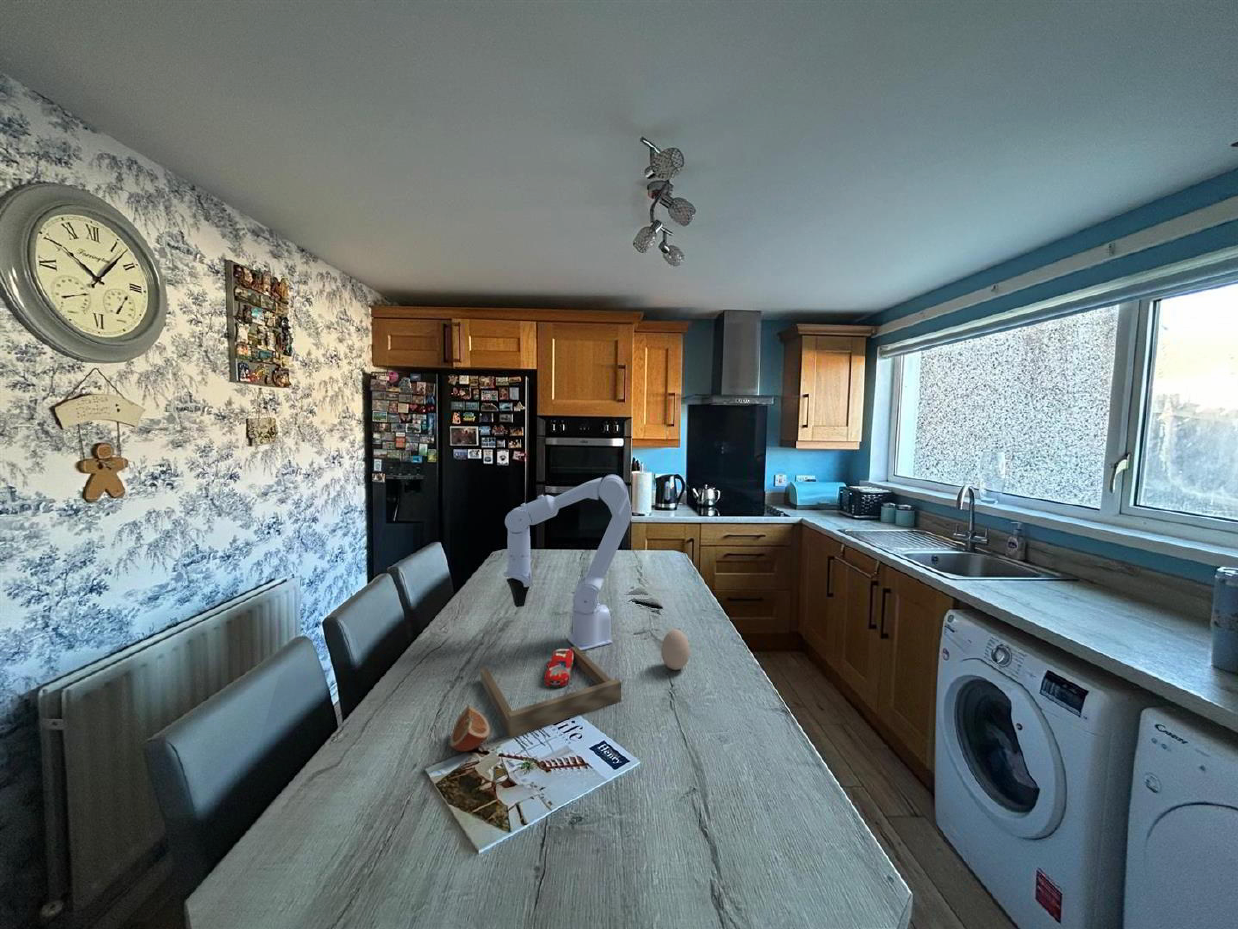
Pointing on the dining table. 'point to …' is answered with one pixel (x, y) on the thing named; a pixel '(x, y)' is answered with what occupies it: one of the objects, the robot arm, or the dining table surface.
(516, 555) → the robot arm
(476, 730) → the fruit slice
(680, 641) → the egg
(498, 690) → the garage bay
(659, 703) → the dining table surface
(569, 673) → the race car
